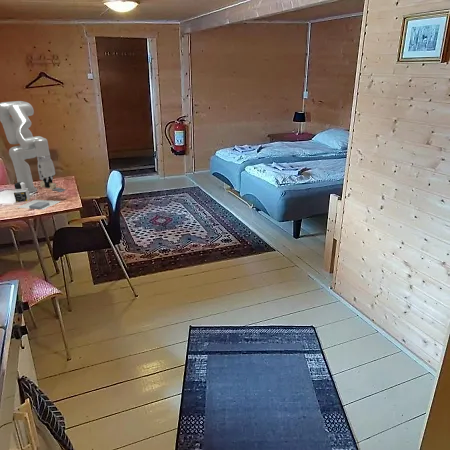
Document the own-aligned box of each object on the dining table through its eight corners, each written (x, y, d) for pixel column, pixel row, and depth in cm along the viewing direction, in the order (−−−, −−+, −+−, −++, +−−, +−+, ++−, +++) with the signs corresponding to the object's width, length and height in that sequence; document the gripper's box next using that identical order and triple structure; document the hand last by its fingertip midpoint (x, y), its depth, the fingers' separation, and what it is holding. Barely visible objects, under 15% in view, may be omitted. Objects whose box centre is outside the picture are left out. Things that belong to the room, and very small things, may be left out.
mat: (16, 208, 248) (16, 207, 248) (35, 200, 262) (35, 199, 262) (43, 210, 242) (43, 209, 242) (61, 202, 256) (61, 201, 256)
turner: (39, 187, 259) (38, 182, 257) (44, 185, 263) (44, 180, 262) (60, 192, 255) (60, 187, 253) (65, 190, 259) (65, 184, 258)
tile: (29, 205, 244) (39, 206, 242) (38, 201, 251) (49, 202, 249) (29, 208, 245) (40, 209, 243) (39, 204, 252) (49, 205, 250)
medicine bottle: (15, 203, 259) (11, 184, 255) (18, 199, 266) (14, 182, 261) (27, 201, 260) (23, 183, 256) (30, 198, 267) (26, 180, 262)
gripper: (39, 161, 244) (45, 191, 251) (57, 155, 258) (62, 183, 265) (29, 161, 246) (35, 190, 253) (47, 155, 260) (52, 182, 267)
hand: (49, 186), depth 259 cm, fingers closed on turner, 2 cm apart
